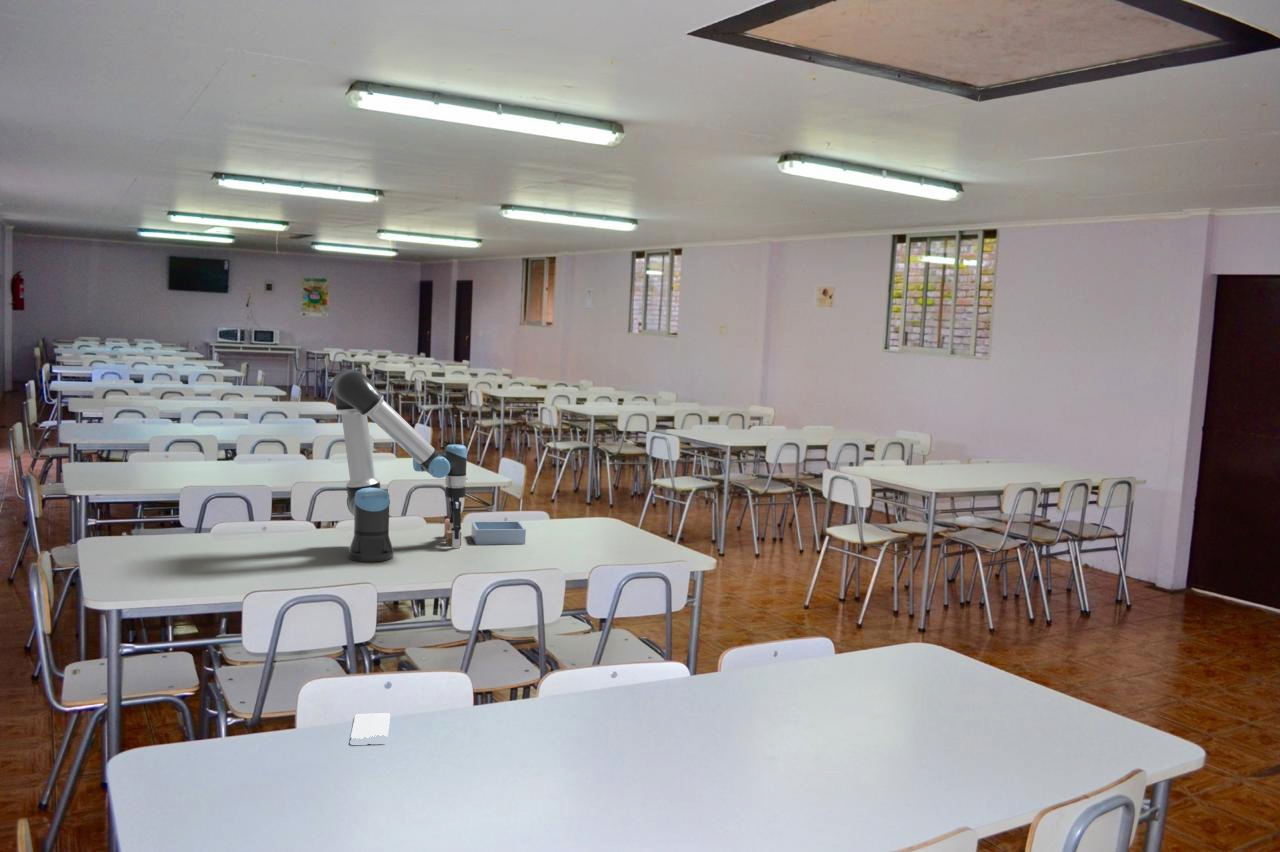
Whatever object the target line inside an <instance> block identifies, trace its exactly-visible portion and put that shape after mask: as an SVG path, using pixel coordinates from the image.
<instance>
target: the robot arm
mask: <svg viewBox="0 0 1280 852" xmlns="http://www.w3.org/2000/svg"><path fill="white" fill-rule="evenodd" d="M331 381H332V382H331V392H332V394H333V395H334V396H333V397H334V401H335V402H334V403H335V410H336V411H337V412H338V413H340V414H341V421H342V430H343V437H344V444H345V452H346V460H347V466H348V467H347V468H348V473H349V474H348V475H349V481H348V482H347V483H346V493H347V497H346V507H347V509H348V511H349V512H350V514H351V515H352V516H354V520H353V521H354V522H353V523H354V524H353V526H354V528H353V529H354V530H353V533H354V534H353V537H352V540H351V542H350V543H351V544H350V546H349V549H348V558H349V559H350V560H352V561H356V562H362V563H363V562H365V563H371V562H372V563H374V562H375V563H376V562H385V561H388V560H391V559H393V558H394V548H393V544H392V541H391V537H390V533H389V531H390V504H391V499H390V493H389V492H388V491H387V490H385V489H381V482H380V479H378V478H377V477H376V476H375V470H374V462H373V454H372V446H371V438H370V437H371V436H370V429H369V422H368V418H370V419H371V420H372V421H373V422H374V423H375V424H376V425H377V426H378V427H379V428H380V429H381V430H382V431H384V432H385V433H386V434H387V436H389V437H390V438H391V439H392V440H393V441H394V442H395V443H397V444H398V446H400V447H401V448H402V449H403V450H404V451H405V452H406V453H407V454H408V455H410V457H411V458H412V467H413V470H414V472H421V473H423V472H427V473H428V474H429V475H430V476H432V477H433V478H437V479H442V478H443V479H444V478H445V481H444V482H445V489H444V490H445V492H444V493H445V495H444V496H445V497H446V498H449V499H450V500H449V519H450V530H453V538H452V546H451V547H452V549H453V548H454V549H455V548H456V549H457V548H461V546H460V531H461V530H462V524H461V523H462V521H461V517H462V515H461V514H462V513H461V511H462V501H461V500H460V498H461V499H462V498H466V496H467V487H466V484H467V480H468V479H469V478H468V477H467V461H468V455H467V447H466V446H465V445H463V444H454V443H453V444H448V445H446V447H445V450H436V449H435V448H434V447H433V446H432V445H431V444H430V443H429V442H428V441H427V440H426V439H425V438H424V437H423V436H422V435H421V434H420V433H419V432H418V431H417V430H415V428H414V427H412V426H411V425H410V423H408V422H407V421H406V420H405V419H404V418H403V417H402V416H401V415H400V414H399V413H398V412H397V411H396V410H395V409H394V408H393V407H392V406H391V405H390V404H389V403H388V402H386V401H385V400H384V395H383V394H382V393H381V392H380V391H379V390H378V388H377V387H376V386H375V385H374V384H373V383H372V381H371V380H370V379H369V378H368V376H367V375H365V374H364V373H363V372H360V371H358V370H356V369H343V370H341V371H339V372H337V373H336V374H335V376H334V377H333V379H332V380H331Z"/></svg>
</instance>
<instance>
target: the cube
mask: <svg viewBox="0 0 1280 852" xmlns="http://www.w3.org/2000/svg"><path fill="white" fill-rule="evenodd" d="M452 538H453V530H447V533H446V538H445V541H446V542H445V544H446V546H447V547H452ZM461 546H462V531H461V530H460V547H461Z"/></svg>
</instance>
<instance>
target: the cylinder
mask: <svg viewBox="0 0 1280 852" xmlns="http://www.w3.org/2000/svg"><path fill="white" fill-rule="evenodd" d="M449 518H450V517H449ZM449 518H444V530H443V531H444V532H443V534H444V535H443V538H444V539H446V533H447V530H450V519H449Z"/></svg>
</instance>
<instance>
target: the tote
mask: <svg viewBox="0 0 1280 852" xmlns="http://www.w3.org/2000/svg"><path fill="white" fill-rule="evenodd" d="M470 533H471V538H472V540H473V542H474V543H475V546H477V545H478V546H480V545H485V546H486V545H490V546H491V545H525V544H526V536H527V535H526V528H525V527H524V525H523V524H522V523H521V521H519V520H517V521H514V520H512V521H510V520H509V521H507V520H506V521H505V520H504V521H502V520H501V521H500V520H498V521H495V520H494V521H471V532H470Z"/></svg>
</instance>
